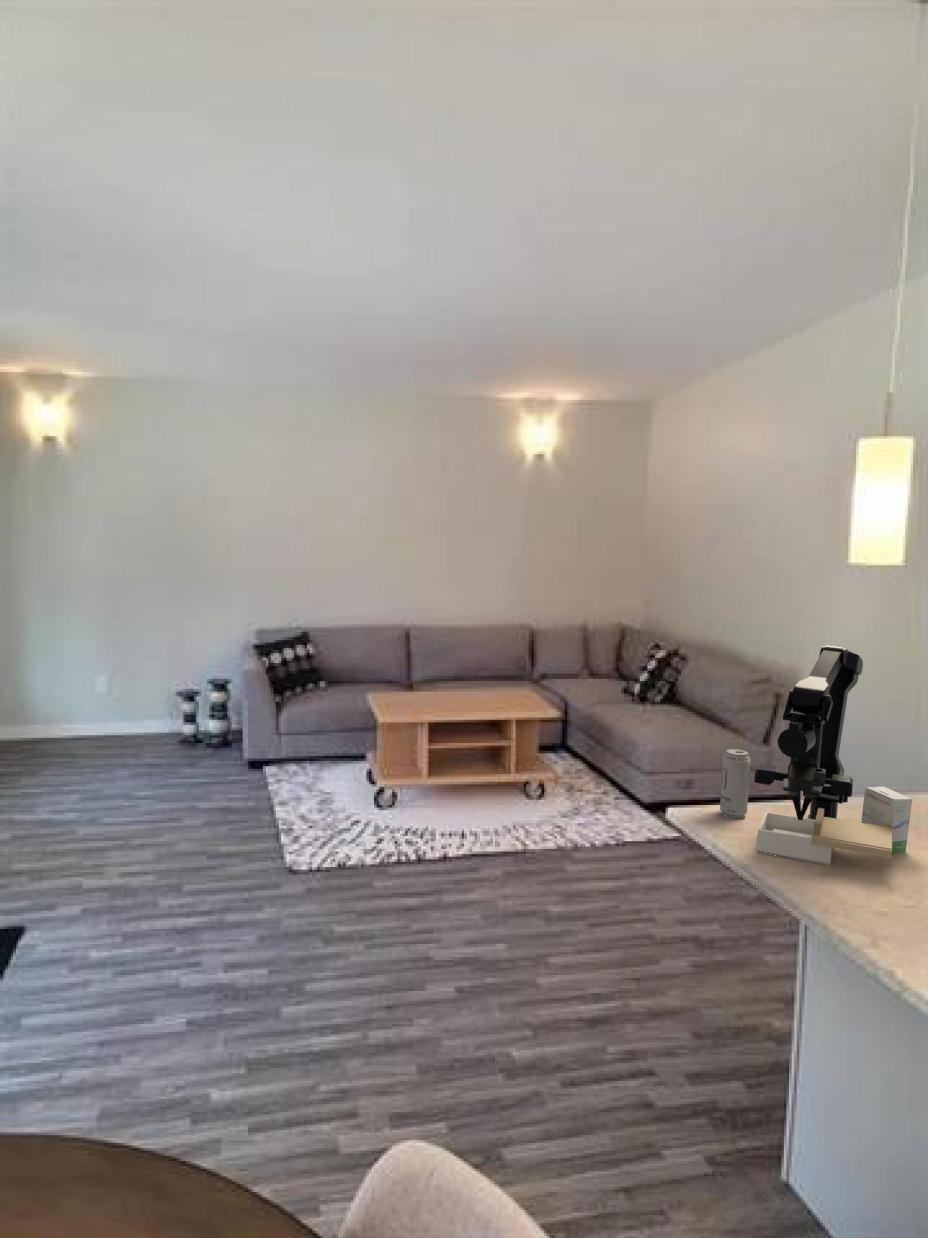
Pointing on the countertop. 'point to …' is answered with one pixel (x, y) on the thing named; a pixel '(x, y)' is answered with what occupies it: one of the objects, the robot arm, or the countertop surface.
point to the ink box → (888, 813)
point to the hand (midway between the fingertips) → (800, 819)
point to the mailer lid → (852, 835)
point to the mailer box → (791, 839)
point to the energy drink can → (735, 783)
